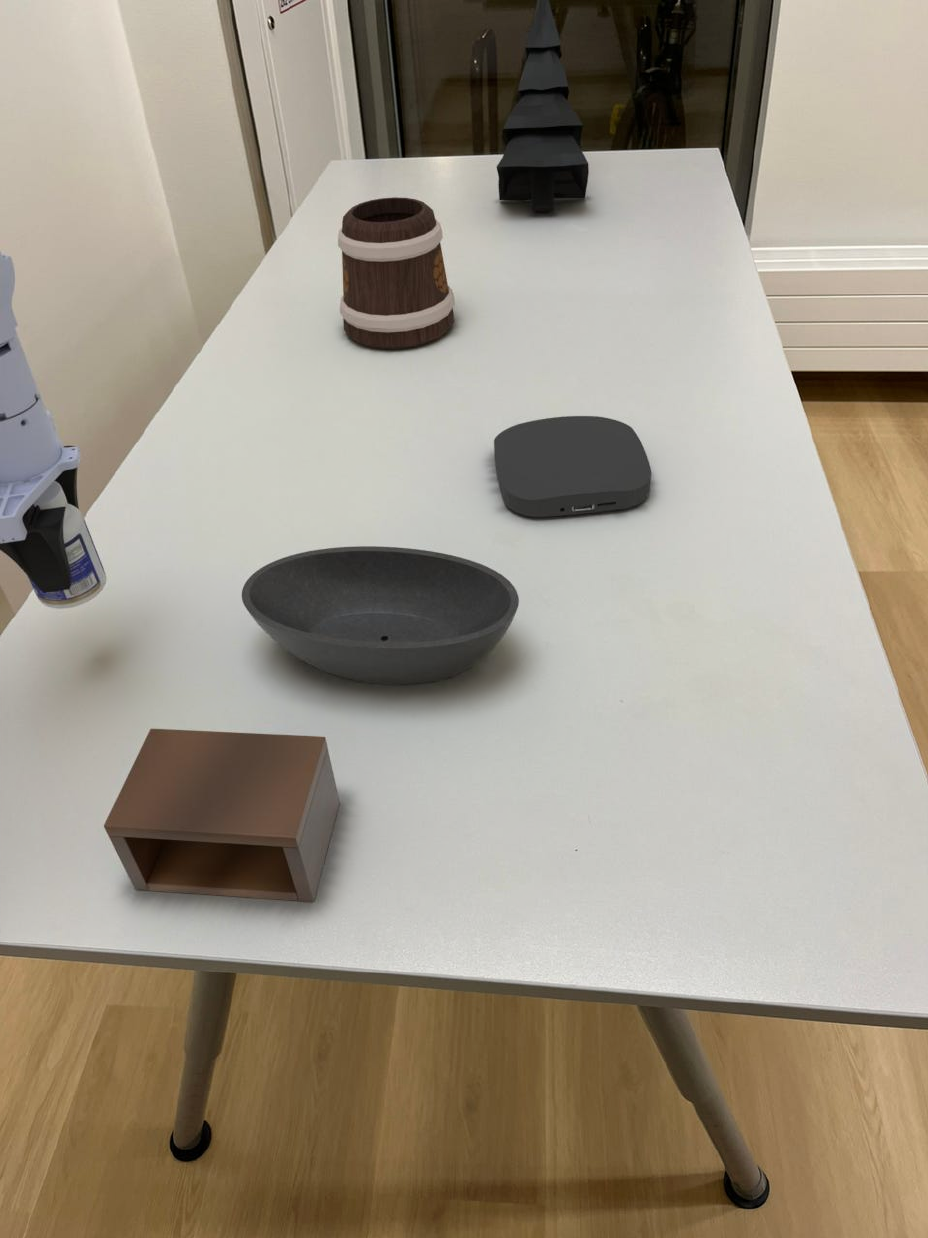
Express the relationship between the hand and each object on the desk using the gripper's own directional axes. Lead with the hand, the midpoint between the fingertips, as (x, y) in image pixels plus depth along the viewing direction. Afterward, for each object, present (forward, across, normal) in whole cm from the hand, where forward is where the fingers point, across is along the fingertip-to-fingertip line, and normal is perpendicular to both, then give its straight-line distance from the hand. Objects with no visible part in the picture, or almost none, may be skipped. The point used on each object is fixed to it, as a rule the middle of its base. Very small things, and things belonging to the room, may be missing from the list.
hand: (62, 565), depth 72 cm
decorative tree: (+10, +102, -62) cm, 120 cm away
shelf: (+10, -21, -12) cm, 26 cm away
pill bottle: (+3, 0, 0) cm, 3 cm away
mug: (+10, +61, -33) cm, 70 cm away
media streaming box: (+10, +18, -44) cm, 49 cm away
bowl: (+10, -4, -23) cm, 26 cm away
